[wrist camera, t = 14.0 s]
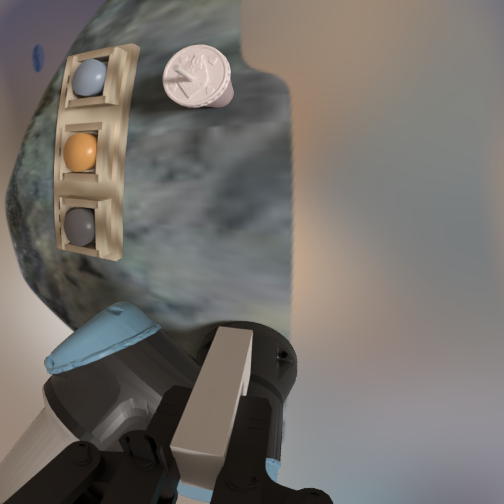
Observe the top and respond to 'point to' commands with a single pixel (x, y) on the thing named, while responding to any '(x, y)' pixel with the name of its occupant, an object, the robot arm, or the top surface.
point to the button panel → (108, 150)
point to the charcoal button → (80, 226)
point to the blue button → (90, 78)
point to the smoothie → (198, 77)
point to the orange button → (81, 152)
